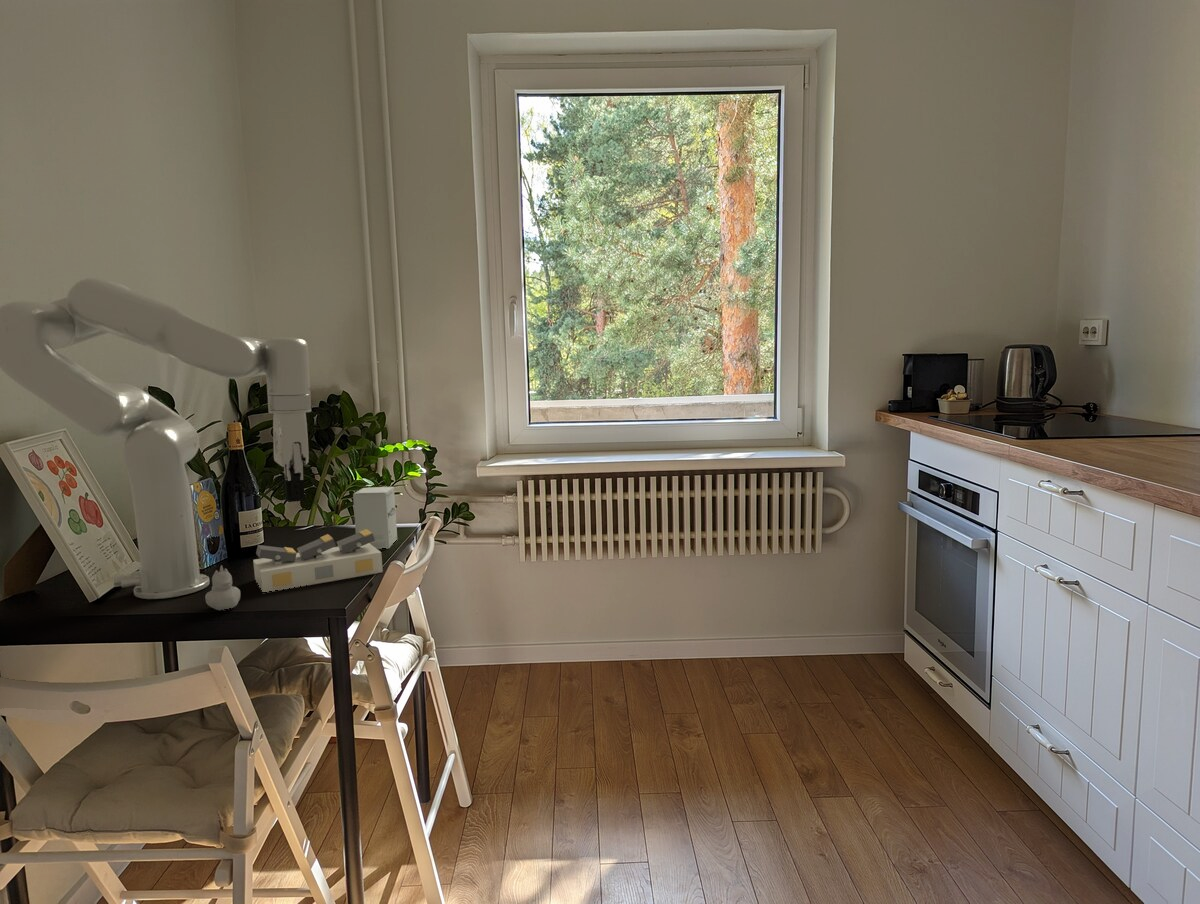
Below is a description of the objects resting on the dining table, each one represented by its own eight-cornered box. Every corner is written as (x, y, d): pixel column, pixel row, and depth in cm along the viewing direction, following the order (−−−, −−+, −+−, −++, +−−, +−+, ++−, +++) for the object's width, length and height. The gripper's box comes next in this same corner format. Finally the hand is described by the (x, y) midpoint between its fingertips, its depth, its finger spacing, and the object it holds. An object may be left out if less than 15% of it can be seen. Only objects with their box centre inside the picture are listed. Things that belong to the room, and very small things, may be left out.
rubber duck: (214, 616, 136) (209, 570, 135) (201, 608, 141) (196, 563, 139) (247, 608, 139) (242, 563, 138) (233, 600, 144) (228, 556, 143)
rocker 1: (259, 558, 149) (261, 548, 149) (255, 552, 153) (257, 543, 153) (295, 562, 153) (297, 552, 153) (290, 556, 157) (292, 547, 157)
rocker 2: (304, 560, 153) (300, 552, 153) (299, 555, 157) (296, 547, 157) (336, 546, 156) (333, 538, 156) (331, 541, 160) (328, 533, 160)
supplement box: (389, 549, 176) (385, 492, 174) (355, 550, 176) (351, 493, 175) (398, 540, 184) (394, 486, 182) (366, 541, 184) (362, 486, 182)
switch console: (263, 593, 148) (260, 569, 147) (255, 579, 156) (252, 556, 156) (383, 572, 158) (381, 549, 158) (369, 560, 167) (367, 539, 167)
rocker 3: (344, 553, 157) (341, 545, 157) (338, 548, 161) (335, 540, 161) (375, 540, 160) (372, 532, 160) (369, 536, 164) (366, 528, 164)
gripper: (262, 402, 156) (268, 496, 158) (274, 408, 143) (281, 509, 146) (303, 401, 160) (308, 492, 162) (318, 406, 147) (324, 505, 149)
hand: (295, 500), depth 154 cm, fingers closed
